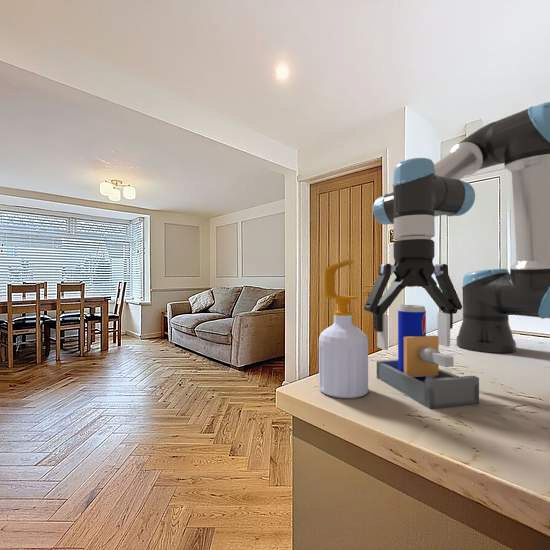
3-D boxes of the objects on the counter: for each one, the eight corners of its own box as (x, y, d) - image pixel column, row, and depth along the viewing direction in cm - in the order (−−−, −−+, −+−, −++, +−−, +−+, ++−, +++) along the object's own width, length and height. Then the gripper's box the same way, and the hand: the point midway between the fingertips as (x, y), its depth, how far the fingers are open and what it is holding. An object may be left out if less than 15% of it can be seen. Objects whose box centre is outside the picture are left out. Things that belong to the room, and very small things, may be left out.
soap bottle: (359, 403, 57) (359, 258, 57) (310, 393, 62) (310, 260, 62) (374, 388, 64) (373, 260, 64) (329, 380, 69) (329, 261, 69)
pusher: (435, 373, 65) (435, 335, 65) (466, 387, 57) (466, 343, 57) (403, 376, 64) (403, 336, 64) (431, 390, 56) (431, 345, 56)
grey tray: (416, 374, 73) (416, 354, 73) (479, 403, 56) (479, 377, 56) (376, 377, 71) (376, 356, 71) (429, 408, 54) (429, 381, 54)
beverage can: (428, 385, 64) (428, 307, 64) (400, 383, 65) (399, 306, 65) (423, 377, 69) (422, 304, 69) (396, 376, 70) (396, 304, 70)
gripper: (454, 242, 72) (454, 340, 72) (346, 240, 67) (347, 345, 67) (482, 239, 65) (482, 347, 65) (364, 236, 60) (364, 354, 60)
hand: (413, 347), depth 66 cm, fingers open, 13 cm apart
